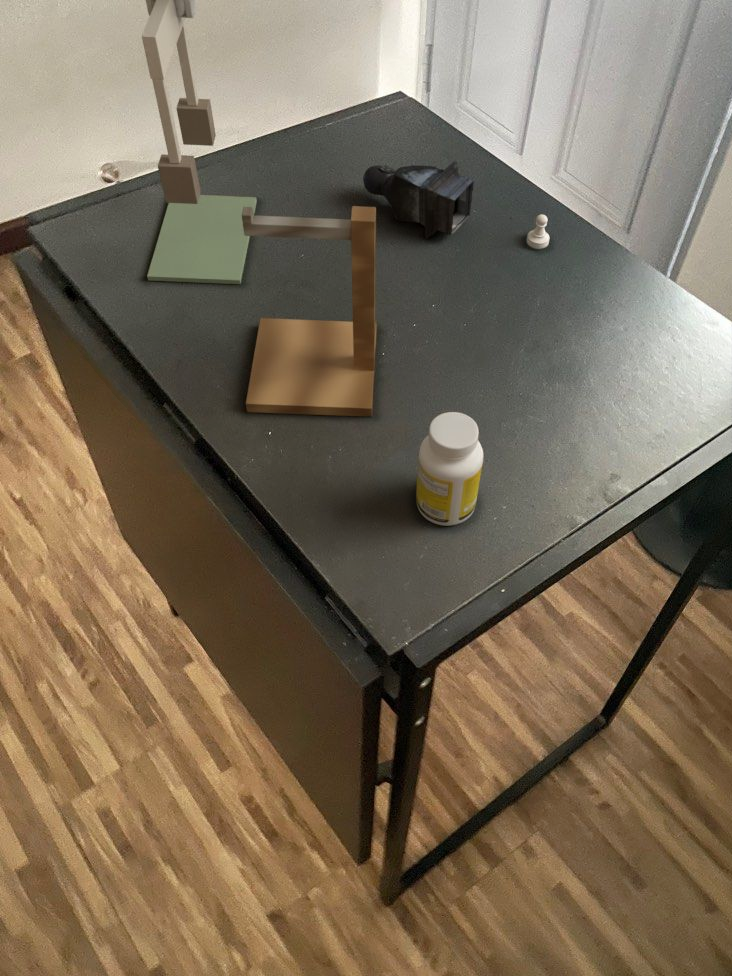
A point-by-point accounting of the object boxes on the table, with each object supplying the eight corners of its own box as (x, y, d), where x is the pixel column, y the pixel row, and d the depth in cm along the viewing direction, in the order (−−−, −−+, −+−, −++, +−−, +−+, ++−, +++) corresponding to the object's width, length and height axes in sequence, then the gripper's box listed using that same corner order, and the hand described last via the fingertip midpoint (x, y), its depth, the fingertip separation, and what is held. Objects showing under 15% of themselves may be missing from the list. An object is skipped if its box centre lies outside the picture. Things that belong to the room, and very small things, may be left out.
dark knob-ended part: (378, 183, 102) (378, 131, 96) (473, 219, 98) (479, 168, 93) (349, 209, 98) (348, 158, 93) (447, 248, 95) (452, 197, 90)
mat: (147, 280, 90) (146, 276, 90) (172, 197, 98) (171, 193, 98) (240, 284, 90) (239, 280, 90) (256, 201, 99) (256, 197, 98)
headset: (165, 202, 84) (128, 38, 71) (186, 134, 91) (155, -27, 78) (197, 204, 84) (166, 40, 71) (215, 135, 91) (190, -26, 78)
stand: (247, 412, 80) (219, 254, 65) (261, 326, 87) (239, 165, 72) (372, 417, 80) (372, 260, 65) (376, 331, 87) (378, 171, 72)
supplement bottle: (468, 476, 77) (480, 402, 68) (481, 524, 74) (495, 452, 65) (410, 482, 76) (415, 408, 68) (420, 531, 73) (427, 459, 65)
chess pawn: (541, 233, 97) (547, 206, 94) (552, 246, 96) (558, 219, 93) (522, 238, 97) (527, 211, 94) (532, 251, 95) (538, 224, 92)
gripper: (-4, -165, 65) (52, 25, 76) (260, -152, 65) (276, 36, 76) (19, -193, 68) (69, -6, 80) (269, -180, 68) (283, 4, 80)
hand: (172, 14), depth 78 cm, fingers closed on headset
